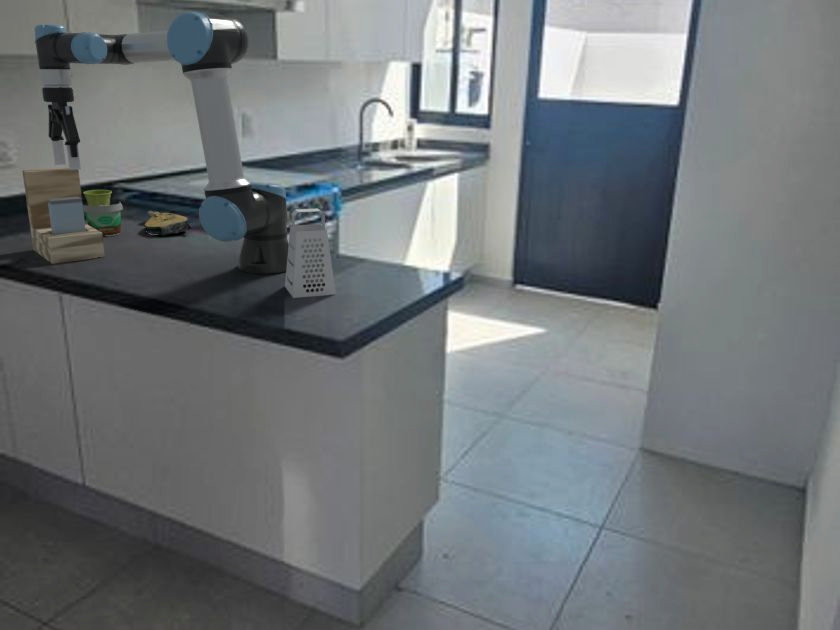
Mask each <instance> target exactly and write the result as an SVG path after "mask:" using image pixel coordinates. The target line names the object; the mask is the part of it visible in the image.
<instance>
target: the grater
mask: <svg viewBox="0 0 840 630" xmlns="http://www.w3.org/2000/svg"><path fill="white" fill-rule="evenodd" d="M311 212H320V213H321V221H320V222H321V223H317V224H316V223H314V224H297V225H296V224H295V221H296V220H295V219H296V216H297V215H298V213H311ZM288 236H289V237H288V242H289V246H288V257H287V268H286V271H285V279H284V280H285V283H284V287H285V288H286V290H287V291H288V293H289V294H290V296H291V297H292V298H293V299H296V298H310V297H321V296H333V295H334V296H335V295H336V294H337V293H336V292H337V291H336V285H335V277H334V270H333V265H332V257H331V250H330V243H329V235H328V229H326V215H325V214H324V213H323V211H322V210H320V209H319V208H317V207H316V208H300V209H296V208H295V209H293V211H292V212H291V225H290V226H289V235H288ZM323 284H324V285H323ZM308 285H310V287H309V286H308ZM313 285H315V286H313ZM318 285H319V286H318ZM304 286H305V287H304ZM312 289H313V291H311V290H312ZM317 289H318V291H317ZM321 289H323V290H321ZM307 290H309V291H307Z"/></svg>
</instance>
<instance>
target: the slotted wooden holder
mask: <svg viewBox="0 0 840 630" xmlns="http://www.w3.org/2000/svg"><path fill="white" fill-rule="evenodd" d="M79 170H80V169H78V170H69V167H60V168H59V167H57V168H56V167H55V168H41V169H40V168H39V169H23V170H22V171H21V172H22V177H23V185H24V191H25V192H24V193H25V199H26V208H27V213H28V214H27V215H28V219H29V220H28V221H29V228H30V235H31V236H30V237H31V241H32V248H33V249H32V250H33V251H35V252H36V253H37V254H38V255H40V256H41V257H43V259H45V260H46V261H48V262H49V263H51V264H52V265H54V264H61V263H68V262H78V261H84V260H92V258H93V259H99V258H98V257H100V258H106V256H105V247H104V246H105V245H104V237H103V236H102V232H100V231H98V230H96V229H94V228H93V227H91V226H89V225H88V224H87V223H85V229H86V232H77V233H68V234H59V235H52V230H51V222H50V215H49V207H48V200H47V199H54V198H66V197H80V198H82V197H83V196H82V188H81V181H80V172H79ZM82 199H83V198H82Z"/></svg>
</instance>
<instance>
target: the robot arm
mask: <svg viewBox="0 0 840 630" xmlns="http://www.w3.org/2000/svg"><path fill="white" fill-rule="evenodd" d="M34 43H35V49H36V54H37V61H38V68H39V70H38V72H39V77H40V85H41V86H43V87H42V89H41V92H42V99H43V101H44V102H45V103H48V104H47V110H48V111H47V112H48V137H49V139H50V140H51V145H52V151H53V153H52V154H53V160H54V165H55V166H59V165H67V163H66V155H65V149H64V148H66V154H67V161H68V168H69V170H81V161H80V153H79V143H80V142H81V139H80V136H79V131H78V128H77V124H76V120H75V116H74V110H73V106H71V105H68V103H73V102H74V101H75V97H74V90H73V88H72V87H71V86H72V85H73V81H72V78H73V77H74V74H73V73H71V65H70V64H79V65H81V64H85V65H97V64H98V65H123V66H127V65H128V66H129V65H134V64H138V63H139V64H141V63H155V62H169V61H171V62H172V61H173V62H174V61H176V62H177V63H179V64H180V65H181V66H180V67H181V70H182V71H181V72H182V75H183V76H184V77H186V79H188V80H189V82H190V85H191V89H192V90H191V91H192V94H193V101H194V105H195V110H196V117H197V121H198V127H199V128H198V129H199V133H200V134H199V135H200V139H201V146H202V151H203V155H204V160H205V167H206V171H207V172H206V173H207V177H208V183H207V184H206V185H205V186H204V189H203V190H204V197H205V199H204V200H203V201H202V202H201V206H199V208H198V218H199V221H200V224H201V226H202V229H203V230H204V231H205V232H206V234H208V235H209V236H211V238H213V239H214V240H216V241H219V242H223V243H224V242H225V243H226V242H233V241H236V242H237V241H239V240H241V239H243V242H242V245H241V249H240V252H239V255H238V261H237V262H238V264H237V265H238V270H240V271H242V272H244V273H250V274H258V275H259V274H263V275H264V274H266V275H267V274H279V273H284V272H285V273H286V268H287V257H288V246H289V238H288V224H287V223H288V221H287V219H288V217H287V201H288V199H287V195H286V194H287V193H286V188H285V187H284V185H282V184H279V183H268V182H267V183H266V182H254V181H253V182H251V181H249V179H246V177H245V175H244V169H243V164H242V163H243V162H242V159H241V152H240V146H239V139H238V133H237V128H236V122H235V117H234V110H233V104H232V98H231V93H230V85H229V82H228V81H229V80H228V78H229V75H230V74H231V72H232V71H233V66H232V64H233V65H234V64H236V63H238V62H240V61H241V60H243V58H244V57H245V56H246V54H247V52H248V49H249V45H250V41H249V34H248V32H247V30H246V28H245V26H244V25H243V23H241V22H240V20H237V19H236V18H235V17H232V16H230V15H228V14H227V15H225V14H216V13H209V12H203V11H186V12H182V13H180V14H178V15H177V16H176V17H175V18H174V19H173V20H172V23H171V24H170V25H169V27H168V29H167V30H161V31H160V30H159V31H158V30H157V31H149V32H138V33H137V32H135V33H124V34H101V33H94V32H85V31H84V32H70V33H69V32H66V27H65V26H63V25H61V24H60V25H59V24H37V25H35V27H34ZM49 103H50V104H49ZM63 134H64V136H62V135H63ZM64 137H65V138H64ZM64 140H65V142H64ZM64 146H66V147H64Z"/></svg>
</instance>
